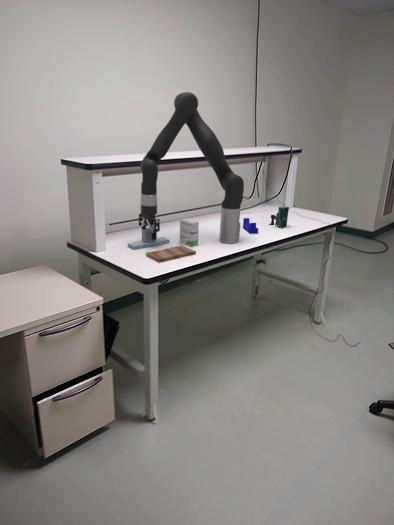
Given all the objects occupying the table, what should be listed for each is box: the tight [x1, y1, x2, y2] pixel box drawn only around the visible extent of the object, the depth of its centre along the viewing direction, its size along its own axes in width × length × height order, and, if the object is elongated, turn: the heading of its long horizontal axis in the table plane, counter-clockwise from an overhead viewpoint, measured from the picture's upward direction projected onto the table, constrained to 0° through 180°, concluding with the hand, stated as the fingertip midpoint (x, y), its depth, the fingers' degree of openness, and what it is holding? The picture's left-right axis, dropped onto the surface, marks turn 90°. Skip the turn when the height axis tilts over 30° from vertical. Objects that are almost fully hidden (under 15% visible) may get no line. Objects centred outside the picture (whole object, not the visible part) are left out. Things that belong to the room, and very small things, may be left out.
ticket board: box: [145, 244, 197, 264], centre depth 177 cm, size 20×10×2 cm, turn 130°
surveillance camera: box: [267, 206, 290, 229], centre depth 233 cm, size 6×12×10 cm
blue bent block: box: [242, 217, 259, 235], centre depth 222 cm, size 12×4×6 cm, turn 13°
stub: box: [127, 227, 170, 250], centre depth 189 cm, size 20×5×8 cm, turn 130°
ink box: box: [179, 218, 200, 248], centre depth 193 cm, size 9×5×12 cm, turn 46°
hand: (148, 237), depth 189 cm, fingers open, 8 cm apart
